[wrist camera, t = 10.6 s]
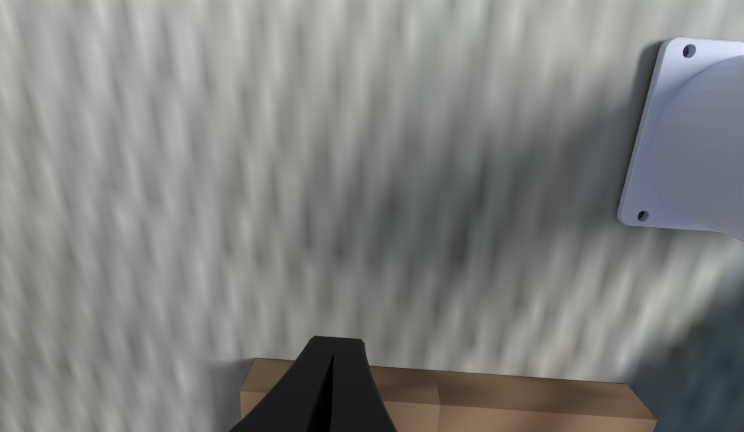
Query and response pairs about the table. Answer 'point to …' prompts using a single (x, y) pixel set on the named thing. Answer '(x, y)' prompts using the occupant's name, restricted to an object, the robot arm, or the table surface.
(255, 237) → the table surface
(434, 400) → the walnut board
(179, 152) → the table surface
